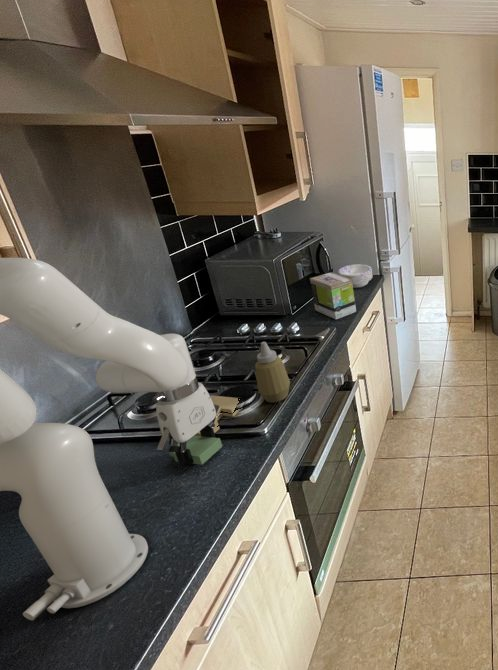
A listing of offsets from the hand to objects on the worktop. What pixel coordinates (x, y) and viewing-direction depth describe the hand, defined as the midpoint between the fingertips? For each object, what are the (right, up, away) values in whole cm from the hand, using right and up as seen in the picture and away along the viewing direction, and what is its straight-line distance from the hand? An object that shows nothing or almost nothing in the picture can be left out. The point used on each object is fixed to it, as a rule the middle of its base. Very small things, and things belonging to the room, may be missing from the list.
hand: (198, 451), depth 98 cm
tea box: (+1, +29, +75) cm, 80 cm away
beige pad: (-6, +3, +12) cm, 14 cm away
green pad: (-1, 0, 0) cm, 1 cm away
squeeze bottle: (+6, +7, +22) cm, 24 cm away
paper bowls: (0, +40, +102) cm, 110 cm away
